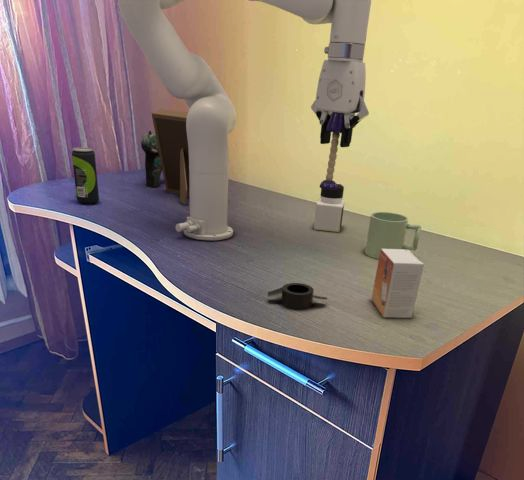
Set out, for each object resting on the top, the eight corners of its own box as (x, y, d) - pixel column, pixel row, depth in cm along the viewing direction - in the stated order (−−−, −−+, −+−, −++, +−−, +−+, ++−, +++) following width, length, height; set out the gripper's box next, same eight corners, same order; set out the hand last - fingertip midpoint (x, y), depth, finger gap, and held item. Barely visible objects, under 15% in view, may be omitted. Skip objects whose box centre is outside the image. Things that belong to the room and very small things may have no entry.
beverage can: (102, 204, 153) (97, 150, 145) (81, 205, 149) (75, 151, 142) (95, 199, 157) (90, 147, 150) (74, 201, 154) (68, 147, 146)
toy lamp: (341, 188, 124) (351, 112, 116) (335, 191, 120) (345, 113, 112) (322, 185, 126) (331, 110, 118) (316, 188, 122) (324, 111, 114)
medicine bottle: (339, 232, 141) (345, 187, 135) (313, 229, 142) (318, 184, 136) (341, 226, 147) (347, 182, 141) (316, 223, 148) (321, 180, 142)
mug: (365, 257, 123) (371, 219, 119) (364, 247, 131) (370, 210, 126) (416, 263, 122) (424, 224, 117) (413, 252, 129) (420, 215, 125)
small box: (370, 300, 100) (379, 247, 95) (398, 300, 101) (409, 248, 96) (382, 318, 93) (393, 262, 88) (412, 318, 94) (424, 263, 89)
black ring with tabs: (285, 290, 102) (286, 276, 101) (329, 304, 97) (331, 290, 96) (263, 301, 97) (264, 287, 95) (308, 317, 92) (310, 302, 90)
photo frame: (174, 189, 175) (172, 108, 163) (226, 200, 166) (228, 115, 154) (144, 196, 164) (139, 110, 152) (197, 208, 154) (197, 117, 142)
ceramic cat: (152, 188, 174) (149, 124, 164) (138, 185, 177) (135, 122, 167) (190, 181, 189) (190, 121, 179) (177, 178, 192) (176, 119, 182)
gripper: (303, 51, 111) (295, 141, 120) (372, 54, 102) (358, 151, 111) (322, 53, 117) (313, 139, 125) (390, 56, 108) (375, 149, 117)
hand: (334, 144), depth 118 cm, fingers closed on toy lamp, 4 cm apart
